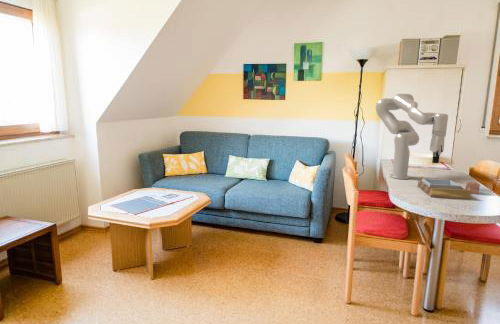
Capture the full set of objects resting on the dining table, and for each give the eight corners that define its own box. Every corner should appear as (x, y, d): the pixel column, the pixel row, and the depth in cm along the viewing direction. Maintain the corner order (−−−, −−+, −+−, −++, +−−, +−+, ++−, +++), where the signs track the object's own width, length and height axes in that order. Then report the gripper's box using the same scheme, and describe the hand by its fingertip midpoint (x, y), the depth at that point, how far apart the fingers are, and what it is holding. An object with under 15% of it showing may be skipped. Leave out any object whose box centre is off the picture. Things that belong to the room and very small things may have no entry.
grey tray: (421, 185, 202) (422, 178, 201) (450, 186, 199) (451, 180, 198) (429, 191, 189) (430, 184, 188) (460, 192, 186) (461, 185, 185)
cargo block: (465, 191, 194) (466, 181, 193) (474, 191, 193) (475, 182, 192) (469, 193, 189) (470, 183, 188) (478, 194, 189) (480, 184, 187)
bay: (417, 186, 204) (418, 178, 203) (451, 188, 201) (452, 180, 200) (430, 197, 182) (431, 188, 181) (469, 199, 179) (471, 190, 178)
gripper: (427, 132, 207) (424, 160, 211) (437, 134, 193) (433, 164, 196) (440, 132, 206) (437, 160, 210) (450, 135, 192) (446, 165, 195)
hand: (435, 162), depth 203 cm, fingers closed
